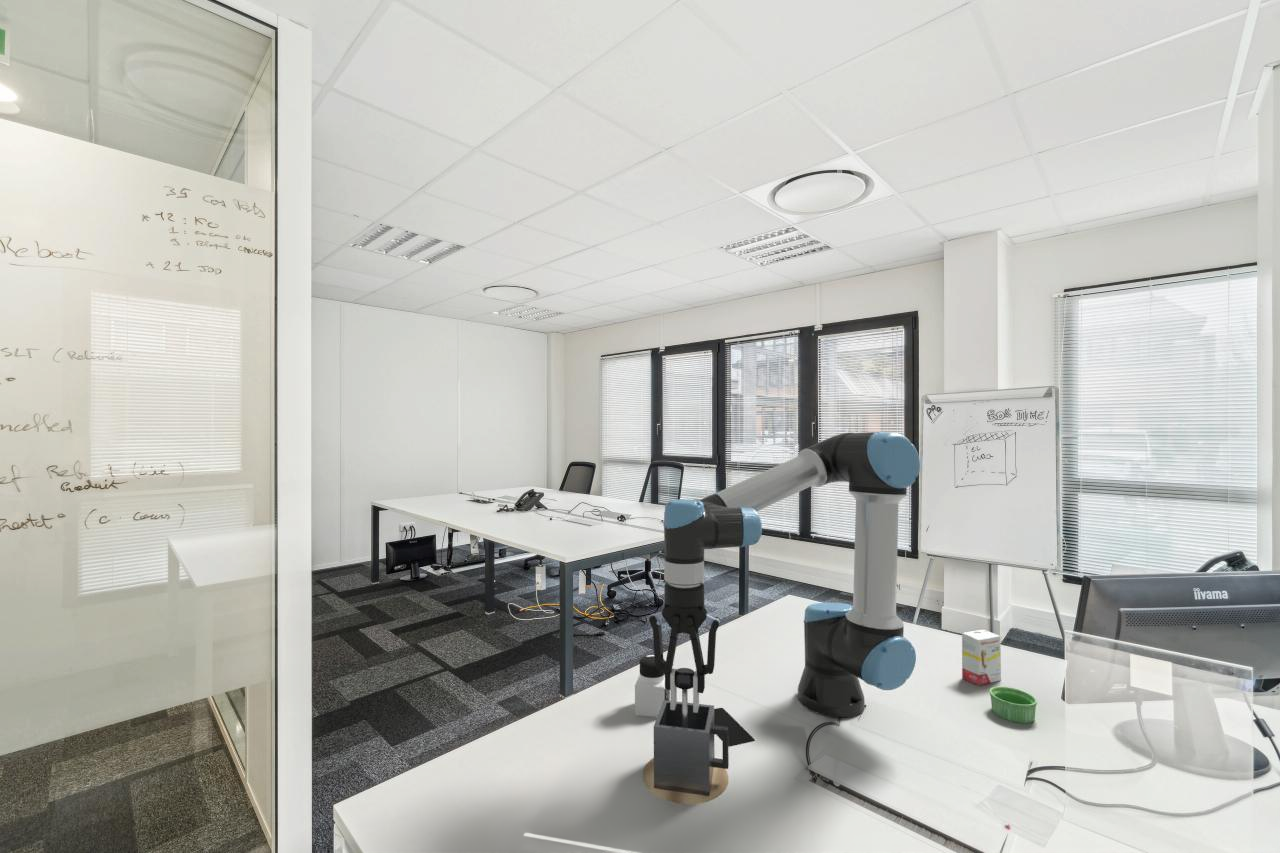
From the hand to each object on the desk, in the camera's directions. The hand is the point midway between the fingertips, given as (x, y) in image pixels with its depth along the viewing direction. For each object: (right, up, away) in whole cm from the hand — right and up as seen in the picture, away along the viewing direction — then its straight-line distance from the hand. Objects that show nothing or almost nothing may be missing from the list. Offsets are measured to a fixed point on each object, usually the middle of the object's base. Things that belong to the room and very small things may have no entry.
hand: (684, 707), depth 101 cm
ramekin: (+77, -13, +22) cm, 81 cm away
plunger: (0, -10, 0) cm, 10 cm away
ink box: (+81, -14, +40) cm, 91 cm away
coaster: (0, -13, 0) cm, 13 cm away
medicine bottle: (-5, -14, +25) cm, 29 cm away
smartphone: (+10, -14, +17) cm, 24 cm away
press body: (+2, -12, -1) cm, 13 cm away
